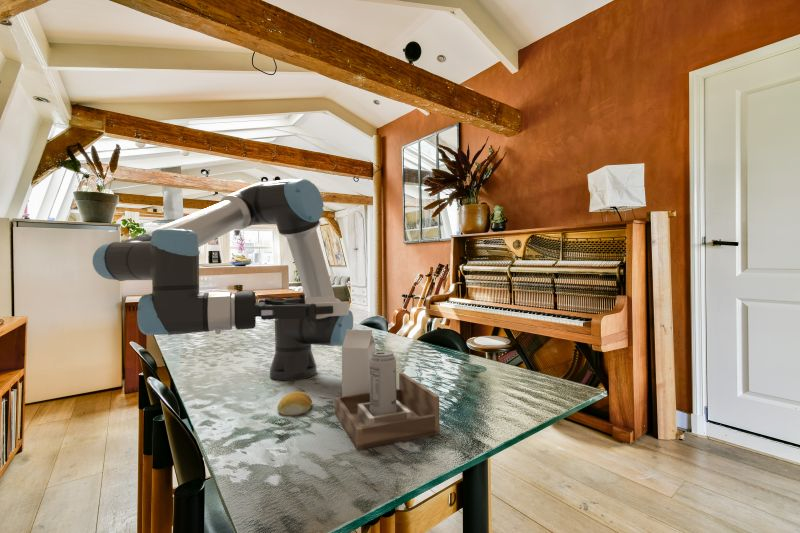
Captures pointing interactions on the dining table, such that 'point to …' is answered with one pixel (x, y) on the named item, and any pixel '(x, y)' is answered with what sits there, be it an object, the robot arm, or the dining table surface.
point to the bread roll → (294, 404)
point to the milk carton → (357, 361)
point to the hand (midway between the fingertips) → (340, 304)
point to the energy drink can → (382, 383)
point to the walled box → (390, 416)
